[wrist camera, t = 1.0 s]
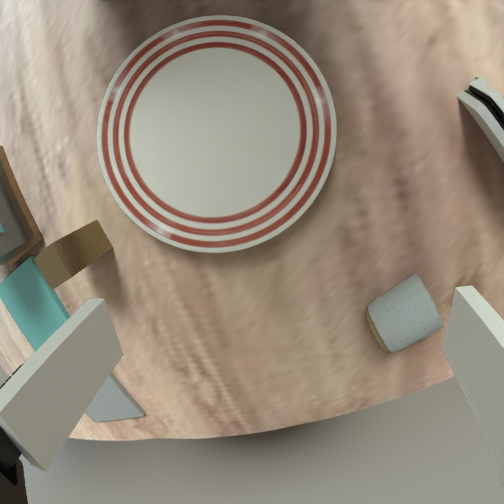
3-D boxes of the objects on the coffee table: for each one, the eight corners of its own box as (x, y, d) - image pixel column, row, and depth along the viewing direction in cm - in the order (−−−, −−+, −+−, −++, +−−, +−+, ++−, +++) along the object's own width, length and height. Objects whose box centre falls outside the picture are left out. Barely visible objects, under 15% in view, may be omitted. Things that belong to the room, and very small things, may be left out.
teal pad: (-2, 286, 49) (-5, 288, 48) (33, 255, 44) (29, 257, 43) (40, 352, 53) (38, 355, 52) (82, 334, 48) (79, 338, 47)
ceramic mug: (356, 298, 39) (368, 332, 32) (409, 262, 37) (431, 291, 30) (391, 348, 42) (403, 384, 35) (438, 318, 39) (458, 350, 32)
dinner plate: (214, -15, 28) (207, -26, 25) (382, 137, 33) (390, 137, 30) (76, 143, 37) (62, 145, 34) (216, 285, 42) (210, 298, 39)
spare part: (77, 233, 42) (33, 258, 32) (97, 219, 40) (52, 243, 31) (92, 260, 43) (51, 290, 33) (113, 247, 42) (71, 277, 32)
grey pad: (49, 364, 53) (46, 367, 52) (92, 348, 49) (90, 351, 48) (95, 419, 57) (94, 422, 56) (145, 412, 53) (143, 416, 52)
